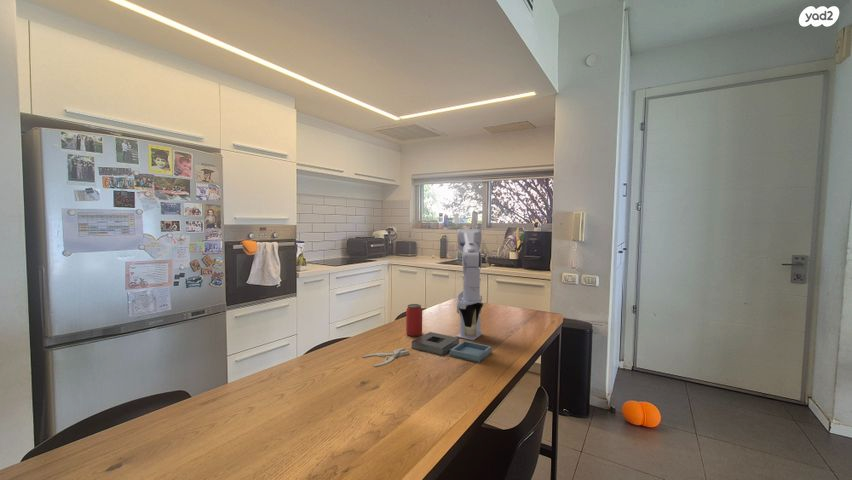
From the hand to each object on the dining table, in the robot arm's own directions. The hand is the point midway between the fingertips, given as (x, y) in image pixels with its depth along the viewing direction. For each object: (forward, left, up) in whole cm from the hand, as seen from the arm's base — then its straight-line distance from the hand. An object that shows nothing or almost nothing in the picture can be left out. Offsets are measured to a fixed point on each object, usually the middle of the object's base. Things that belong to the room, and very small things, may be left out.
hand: (470, 325), depth 121 cm
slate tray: (0, 0, -10) cm, 10 cm away
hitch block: (0, -14, -10) cm, 18 cm away
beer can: (-7, -29, -11) cm, 31 cm away
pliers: (+18, -23, -11) cm, 31 cm away
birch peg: (0, 0, -3) cm, 4 cm away
